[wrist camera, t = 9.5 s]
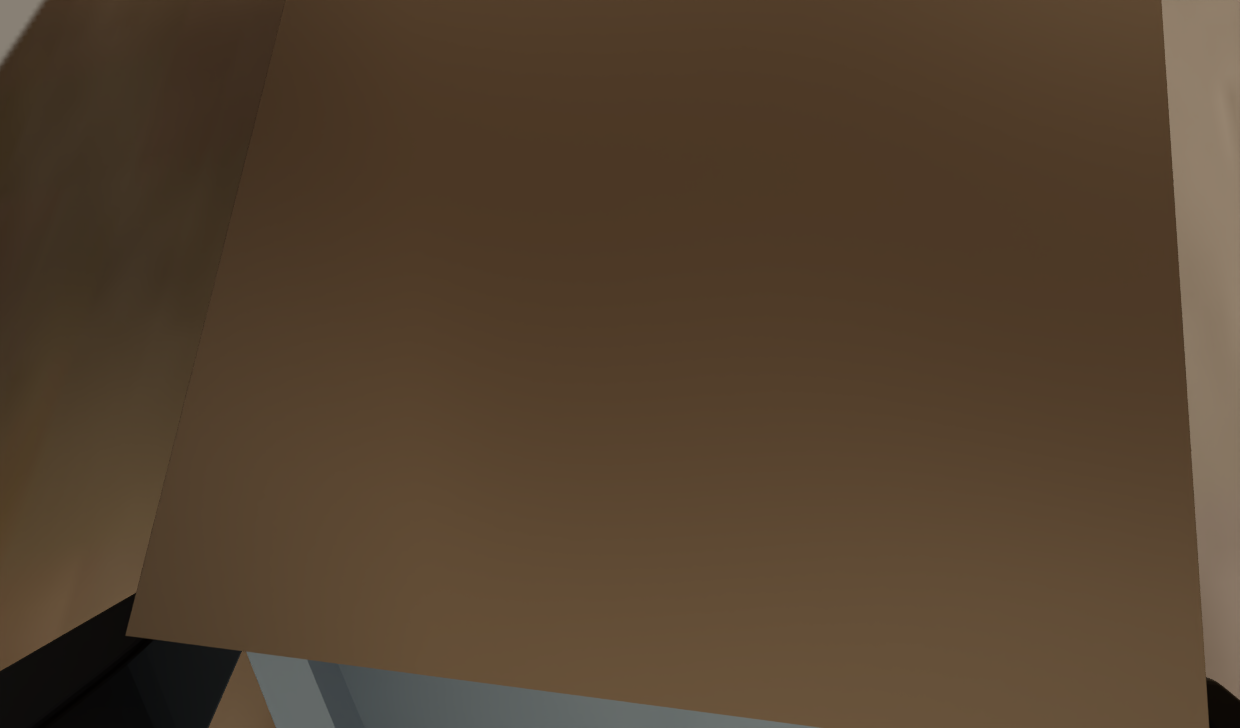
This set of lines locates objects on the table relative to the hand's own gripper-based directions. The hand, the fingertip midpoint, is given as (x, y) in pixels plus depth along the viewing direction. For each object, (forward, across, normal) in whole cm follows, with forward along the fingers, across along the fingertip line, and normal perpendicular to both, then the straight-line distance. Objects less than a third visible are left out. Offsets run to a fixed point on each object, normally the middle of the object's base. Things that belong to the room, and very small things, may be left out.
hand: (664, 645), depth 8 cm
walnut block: (+8, 0, +4) cm, 9 cm away
